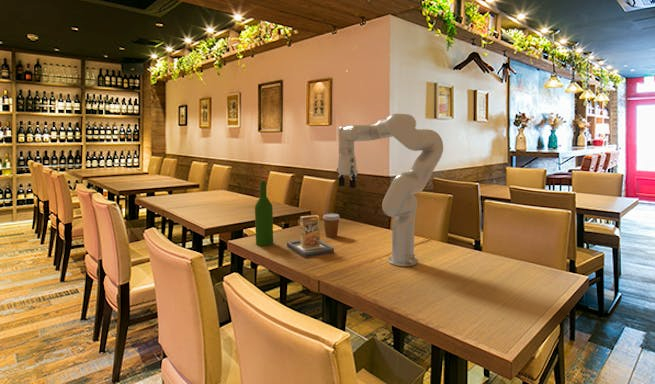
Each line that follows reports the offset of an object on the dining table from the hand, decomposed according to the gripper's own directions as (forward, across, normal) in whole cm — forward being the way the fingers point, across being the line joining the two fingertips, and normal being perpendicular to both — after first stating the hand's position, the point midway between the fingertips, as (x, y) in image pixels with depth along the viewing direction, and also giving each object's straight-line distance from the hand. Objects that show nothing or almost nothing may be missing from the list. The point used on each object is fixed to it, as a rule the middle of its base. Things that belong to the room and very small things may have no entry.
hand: (347, 186), depth 198 cm
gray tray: (+31, +7, +18) cm, 36 cm away
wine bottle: (+30, +29, +33) cm, 53 cm away
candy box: (+29, +7, +18) cm, 35 cm away
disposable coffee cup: (+31, +25, -5) cm, 40 cm away
